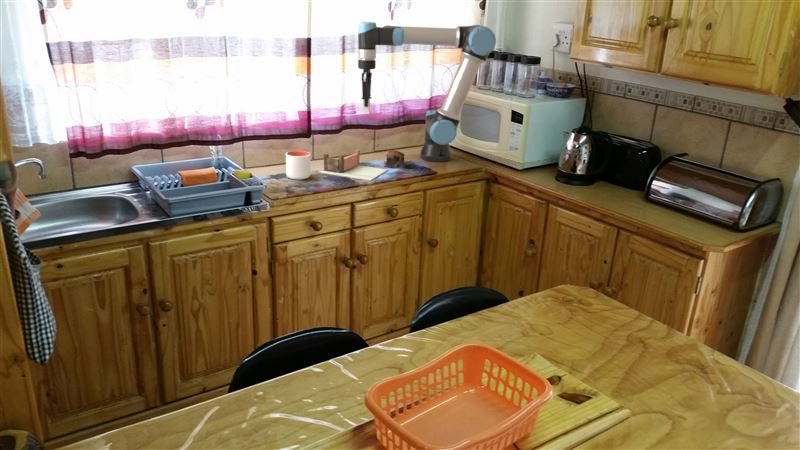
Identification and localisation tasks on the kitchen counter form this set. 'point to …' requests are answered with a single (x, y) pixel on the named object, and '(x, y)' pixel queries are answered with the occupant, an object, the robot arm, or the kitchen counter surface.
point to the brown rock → (394, 159)
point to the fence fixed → (334, 163)
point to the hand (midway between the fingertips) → (366, 113)
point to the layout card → (358, 172)
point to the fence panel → (351, 160)
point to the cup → (298, 165)
